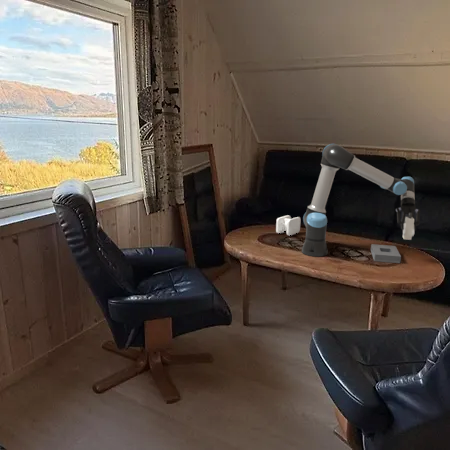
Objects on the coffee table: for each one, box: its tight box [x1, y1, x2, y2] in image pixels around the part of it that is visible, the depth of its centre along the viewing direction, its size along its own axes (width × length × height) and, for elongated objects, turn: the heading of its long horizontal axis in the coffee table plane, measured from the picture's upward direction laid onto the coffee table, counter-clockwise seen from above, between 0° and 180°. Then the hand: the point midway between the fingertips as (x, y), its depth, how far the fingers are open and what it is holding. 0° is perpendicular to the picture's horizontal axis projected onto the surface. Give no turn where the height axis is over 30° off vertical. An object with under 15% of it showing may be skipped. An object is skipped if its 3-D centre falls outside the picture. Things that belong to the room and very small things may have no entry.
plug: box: [402, 213, 414, 241], centre depth 238 cm, size 4×5×15 cm
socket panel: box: [370, 243, 402, 264], centre depth 247 cm, size 14×20×4 cm
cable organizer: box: [275, 214, 301, 237], centre depth 291 cm, size 15×11×12 cm
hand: (408, 234), depth 236 cm, fingers closed on plug, 4 cm apart
